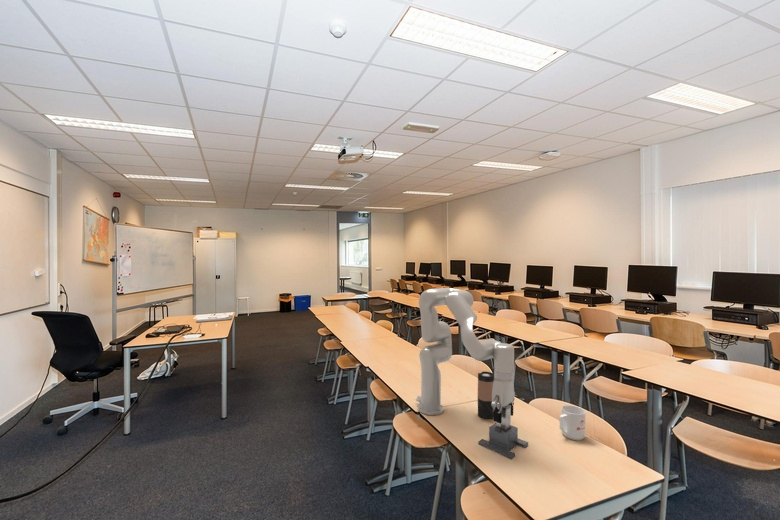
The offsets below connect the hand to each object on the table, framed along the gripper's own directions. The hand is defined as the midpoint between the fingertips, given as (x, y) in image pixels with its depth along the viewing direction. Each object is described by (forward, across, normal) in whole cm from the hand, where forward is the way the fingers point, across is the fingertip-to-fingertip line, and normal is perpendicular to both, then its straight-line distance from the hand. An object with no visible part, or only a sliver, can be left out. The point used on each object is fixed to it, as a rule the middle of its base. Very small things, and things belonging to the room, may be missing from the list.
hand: (503, 418), depth 136 cm
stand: (+11, 0, 0) cm, 11 cm away
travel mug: (+11, -17, -18) cm, 27 cm away
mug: (+11, -27, +16) cm, 33 cm away
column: (+11, 0, 0) cm, 11 cm away
